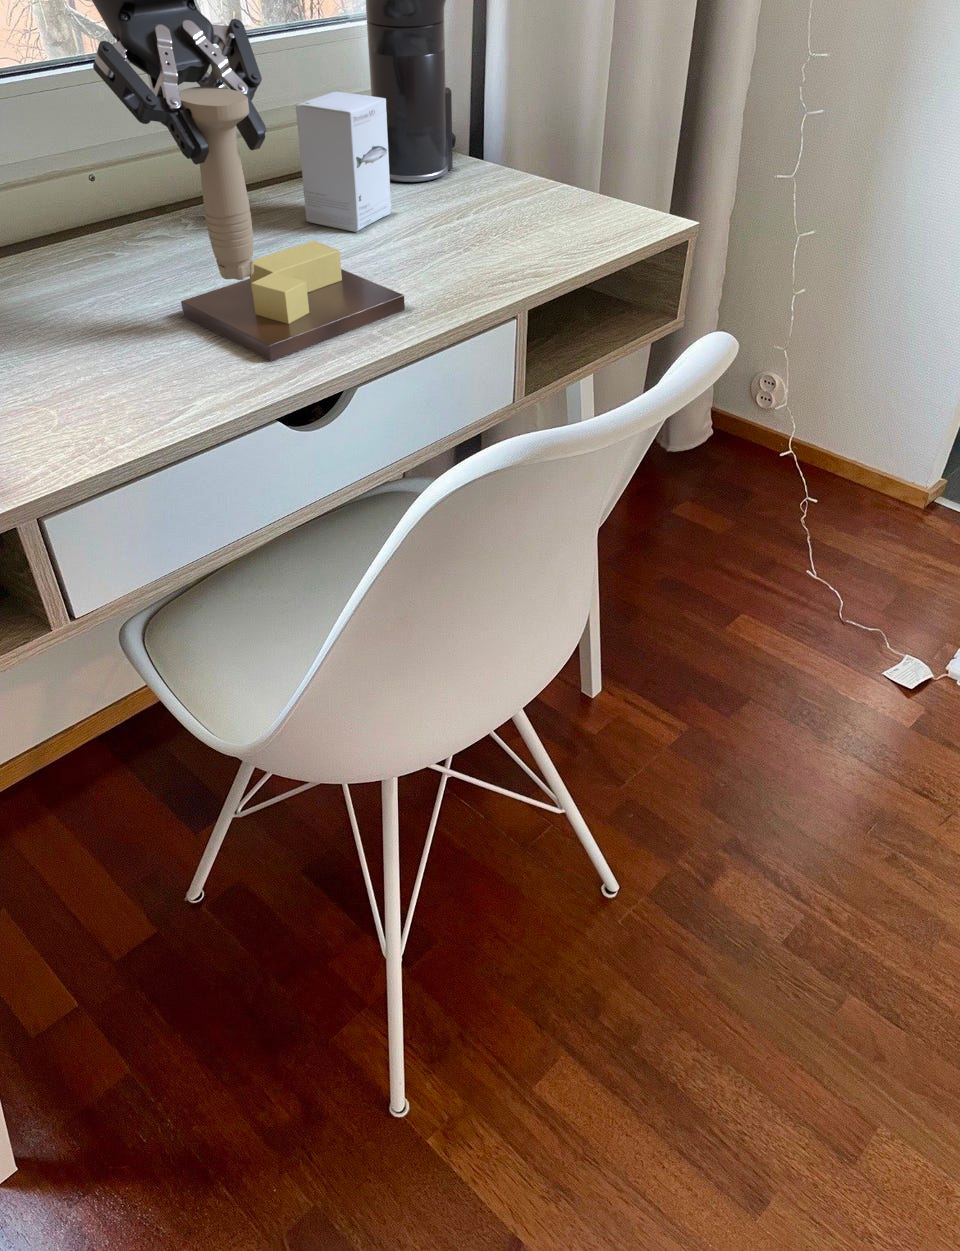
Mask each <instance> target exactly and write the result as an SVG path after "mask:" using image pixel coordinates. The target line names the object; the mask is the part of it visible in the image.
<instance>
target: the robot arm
mask: <svg viewBox="0 0 960 1251" xmlns="http://www.w3.org/2000/svg"><path fill="white" fill-rule="evenodd" d="M91 2H92V3H93V5H94V7H95V8H96V10H97V12H98V14H99V15H100V18H101V19H102V21H103V22H104V24H105V26H106V28H107V29H108V31H109V33H110V34H111V36H112V37H113V38H114V39H115V40H116V42H114V43H111V42H109V41H107V40H102V41H100V42H99V44H98V46H97V50H96V54H95V57H94V61H93V64H92V68H93V70H94V72H96V74H97V75H98V76H99V77H100V79H101V80H102V81H103V82H104V83H105V84H106V85H107V87H108V88H109V89H110V90H111V91H112V92H113V94H114V95H115V96H116V97H117V98H118V99H119V101H120V102H121V103H122V104H123V105H124V106H125V108H127V109H128V111H129V112H130V113H131V114H132V116H133V117H134V118H135V119H136V120H137V121H138V122H139V123H140V124H143V125H148V124H150V123H151V122H156V123H161V125H163V127H164V126H165V127H166V128H167V130H168V131H169V133H170V135H171V136H172V138H173V140H174V141H175V143H176V145H177V147H178V149H179V150H180V151H181V154H182V155H183V156H185V158H186V159H187V160H191V161H192V163H193V164H194V165H200V163H204V162H205V160H206V158H207V155H208V153H209V147H208V144H207V143H206V141H205V139H204V138H203V136H202V134H201V132H200V131H199V129H198V127H197V125H196V124H195V122H194V120H193V119H192V117H191V115H190V113H189V112H188V110H187V108H186V109H181V98H180V94H179V91H180V90H179V89H180V88H179V86H180V85H182V84H183V83H196V84H198V86H199V87H201V86H208V87H221V88H227V89H231V90H235V91H239V92H241V93H243V94H244V95H245V96H246V97H247V98H248V105H249V114H248V115H247V116H246V117H245V118H244V119H243V120H241V121H240V122H238V123H237V124H236V129H237V130H238V132H239V134H240V135H241V137H242V138H243V141H244V142H245V145H246V146H247V147H248V150H250V151H255V150H259V149H261V147H262V145H263V144H264V141H265V140H266V132H267V127H266V124H265V121H263V119H262V117H261V116H260V114H259V112H258V110H257V109H256V107H255V105H254V103H253V101H252V100H253V99H254V98H255V93H256V92H257V90H258V88H259V86H260V85H261V82H262V80H263V78H262V74H261V72H260V69H259V65H258V63H257V60H256V57H255V54H254V51H253V49H252V45H251V43H250V39H249V37H248V34H247V30H246V28H245V25H244V23H243V22H242V21H241V20H240V19H238V18H232V19H230V22H229V24H228V25H223V24H222V25H221V24H220V25H219V24H212V22H211V21H210V20H209V19H208V17H206V16H205V15H204V14H202V12H200V10H199V9H198V8H197V5H196V1H195V0H91ZM446 2H447V0H365V13H366V14H365V15H366V32H367V34H366V35H367V47H368V63H369V65H368V66H369V79H370V83H369V84H370V96H373V97H380V98H385V99H386V113H387V134H388V155H389V176H390V181H393V182H402V183H418V182H420V183H421V182H427V181H432V180H435V179H439V178H441V177H444V176H445V175H447V173H448V171H449V170H453V168H454V166H453V163H454V162H453V149H454V148H455V147H456V142H457V136H456V135H455V134H454V132H453V109H452V108H453V107H452V105H453V104H452V103H453V101H452V100H453V99H452V96H453V95H452V94H453V93H452V89H451V88H450V87H449V86H448V87H447V86H446V48H445V44H446V43H445V37H446V36H445V5H446ZM214 44H216V45H217V47H218V48H219V49H220V50H219V49H218V48H217V47H216V46H215V45H214ZM130 64H131V65H130ZM132 65H133V66H135V67H136V68H137V69H139V70H140V71H142V72H144V73H145V74H146V75H147V77H148V78H147V79H148V82H149V86H148V84H146V81H144V79H142V78H141V77H140V75H139V74H138V72H136V70H134V68H133V67H132ZM210 67H211V71H210V73H209V72H208V71H209V68H210Z"/></svg>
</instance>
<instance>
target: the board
mask: <svg viewBox="0 0 960 1251" xmlns="http://www.w3.org/2000/svg"><path fill="white" fill-rule="evenodd" d="M341 275H342V281H339V282H336V283H333V284H330V285H328V286H325V287H322V288H319V289H317V290H314V291H311V292H308V293H307V295H308V305H309V313H308V314H306V315H304V316H303V317H301V318H299V319H297V320H295V321H293V322H291V323H290V324H287V323H283V322H280V321H276V320H273V319H269V318H266V317H262V316H259V315H256V314H255V307H254V300H253V293H252V288H251V281H250V278H247V279H243V280H240V281H237V282H235V283H232V284H229V285H225V286H223V287H220V288H217V289H213V290H211V291H207V292H204V293H202V294H201V293H200V294H198V295H195V296H192V297H188V298H185V299H182V300H180V304H181V310H182V315H183V317H185V318H187V319H189V320H191V321H192V322H194V323H197V324H198V325H201V326H203V327H204V328H206V329H208V330H210V331H212V332H214V333H216V334H217V335H219V336H222V337H223V338H226V339H227V340H229V341H231V342H233V343H235V344H237V345H239V346H241V347H242V348H244V349H246V350H248V351H250V352H252V353H254V354H256V355H258V356H259V357H262V358H263V359H266V360H267V361H269V362H273V361H276V360H278V359H281V358H284V357H286V356H289V355H291V354H294V353H296V352H300V351H302V350H304V349H307V348H309V347H312V346H315V345H317V344H319V343H320V344H321V343H323V342H325V341H328V340H330V339H333V338H335V337H338V336H340V335H343V334H346V333H348V332H351V331H353V330H356V329H358V328H362V327H364V326H366V325H369V324H371V323H374V322H376V321H377V322H378V321H379V320H382V319H384V318H387V317H390V316H392V315H395V314H398V313H400V312H403V311H405V310H406V308H405V307H406V306H405V303H406V302H405V294H403V293H400V292H398V291H396V290H393V289H391V288H388V287H386V286H383V285H381V284H379V283H376V282H374V281H371V280H369V279H367V278H364V277H362V276H360V275H357V274H354V273H353V272H349V271H347V270H345V269H342V268H341Z"/></svg>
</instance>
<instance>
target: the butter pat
mask: <svg viewBox="0 0 960 1251" xmlns="http://www.w3.org/2000/svg"><path fill="white" fill-rule="evenodd" d="M251 286H252V293H253V300H254V307H255V314H256V315H259V316H262V317H266V318H269V319H273V320H276V321H280V322H283V323H287V324H290V323H291V322H293V321H295V320H297V319H299V318H301V317H303V316H304V315H306V314H308V313H309V305H308V295H307V286H306V281H302V280H298V279H295V278H291V277H287V276H283V275H279V274H276V273H271V274H269V275H267V276H265V277H263V278H261V279H259V280H257V281H255V282H252V283H251Z"/></svg>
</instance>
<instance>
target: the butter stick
mask: <svg viewBox="0 0 960 1251" xmlns="http://www.w3.org/2000/svg"><path fill="white" fill-rule="evenodd" d="M251 260H252V262H254V273H253V275H252V276H249V279H250V281H251V283H252V282H255V281H257V280H259V279H261V278H263V277H265V276H267V275H269V274H271V273H276V274H279V275H283V276H287V277H291V278H295V279H298V280H302V281H306V286H307V293H308V292H311V291H314V290H317V289H319V288H322V287H325V286H328V285H330V284H333V283H336V282H339V281H342V275H341V269H342V266H341V265H342V264H341V263H342V262H341V252H340V250H339V249H337V248H334V247H332V246H329V245H326V244H324V243H322V242H319V241H317V240H313V239H312V240H311V241H308V242H304V243H301V244H298V245H295V246H292V247H289V248H286V249H283V250H280V251H277V252H273V253H270V254H267V255H264V256H261V257H258V258H255V259H251ZM251 288H252V286H251Z"/></svg>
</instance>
